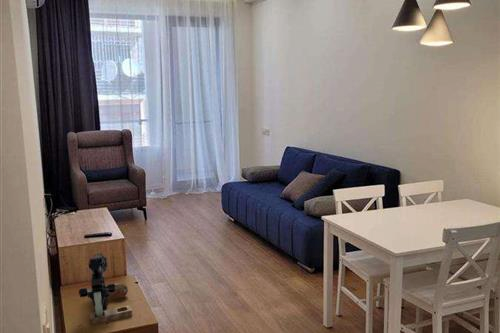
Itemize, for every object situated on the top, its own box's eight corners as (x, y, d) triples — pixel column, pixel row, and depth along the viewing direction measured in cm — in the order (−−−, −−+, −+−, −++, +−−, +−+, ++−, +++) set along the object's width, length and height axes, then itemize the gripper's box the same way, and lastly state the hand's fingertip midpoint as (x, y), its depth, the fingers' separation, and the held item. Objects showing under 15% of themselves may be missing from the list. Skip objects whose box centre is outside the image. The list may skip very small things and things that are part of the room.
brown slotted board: (91, 324, 243) (90, 318, 243) (90, 318, 250) (90, 313, 249) (132, 315, 251) (131, 310, 250) (130, 310, 257) (130, 304, 257)
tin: (102, 299, 274) (100, 286, 273) (103, 297, 277) (102, 284, 276) (127, 297, 275) (126, 284, 274) (128, 295, 278) (127, 282, 277)
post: (97, 314, 249) (94, 291, 248) (103, 313, 250) (101, 291, 248) (95, 317, 246) (93, 294, 244) (102, 316, 246) (99, 293, 244)
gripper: (77, 274, 246) (77, 302, 237) (113, 269, 251) (115, 296, 242) (80, 283, 254) (80, 310, 245) (115, 277, 259) (116, 304, 250)
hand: (98, 305), depth 246 cm, fingers closed on post, 4 cm apart
